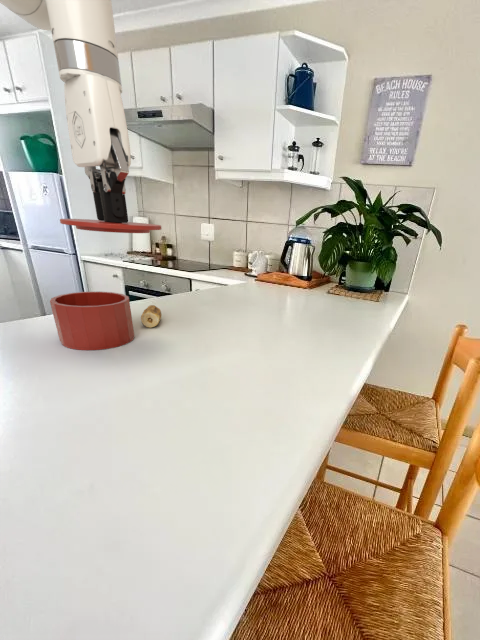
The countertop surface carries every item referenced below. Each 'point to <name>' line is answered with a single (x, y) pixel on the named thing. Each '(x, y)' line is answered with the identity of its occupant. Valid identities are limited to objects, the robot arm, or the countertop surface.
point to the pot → (93, 320)
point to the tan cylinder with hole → (151, 316)
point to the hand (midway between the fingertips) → (112, 220)
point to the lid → (109, 226)
